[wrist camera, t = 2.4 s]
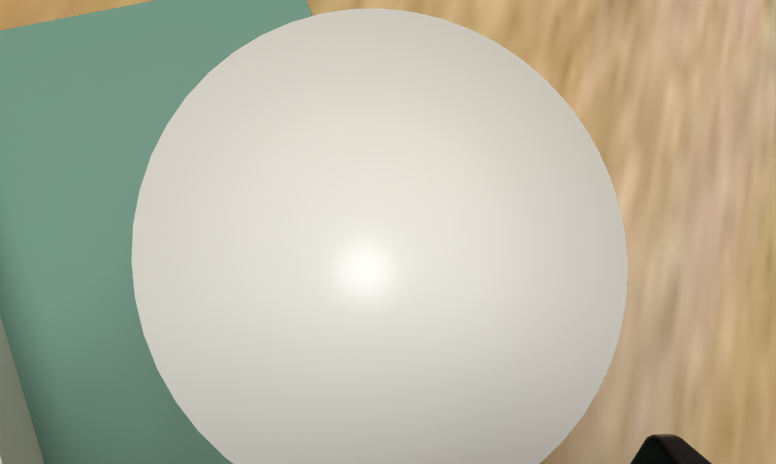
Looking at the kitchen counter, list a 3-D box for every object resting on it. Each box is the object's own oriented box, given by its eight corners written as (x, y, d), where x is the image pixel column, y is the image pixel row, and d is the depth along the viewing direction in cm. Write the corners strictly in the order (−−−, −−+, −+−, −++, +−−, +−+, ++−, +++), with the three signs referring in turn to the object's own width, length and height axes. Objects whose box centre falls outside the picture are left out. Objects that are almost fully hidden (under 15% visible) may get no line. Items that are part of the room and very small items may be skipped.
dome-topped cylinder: (395, 367, 19) (692, 401, 7) (214, 437, 17) (231, 615, 6) (336, 194, 19) (532, -32, 8) (154, 248, 18) (60, 69, 6)
